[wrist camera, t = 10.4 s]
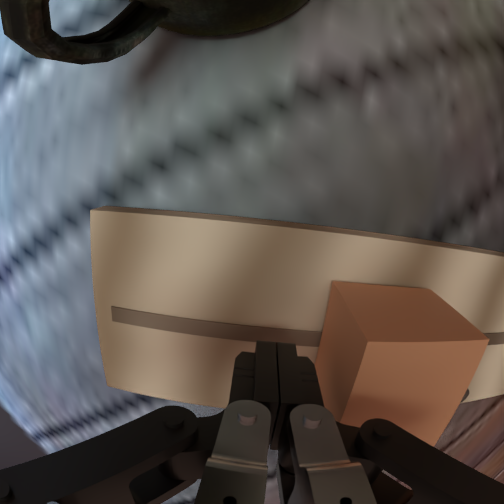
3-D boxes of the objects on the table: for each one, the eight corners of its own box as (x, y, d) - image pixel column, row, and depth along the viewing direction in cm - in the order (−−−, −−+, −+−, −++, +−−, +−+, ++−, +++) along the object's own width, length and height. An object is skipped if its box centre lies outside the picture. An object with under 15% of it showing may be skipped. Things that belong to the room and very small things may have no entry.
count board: (557, 262, 14) (572, 269, 12) (515, 379, 17) (525, 389, 15) (105, 205, 14) (88, 210, 13) (116, 371, 17) (106, 387, 15)
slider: (430, 289, 13) (489, 339, 8) (395, 390, 14) (428, 454, 10) (332, 280, 13) (367, 341, 8) (308, 390, 14) (320, 467, 10)
